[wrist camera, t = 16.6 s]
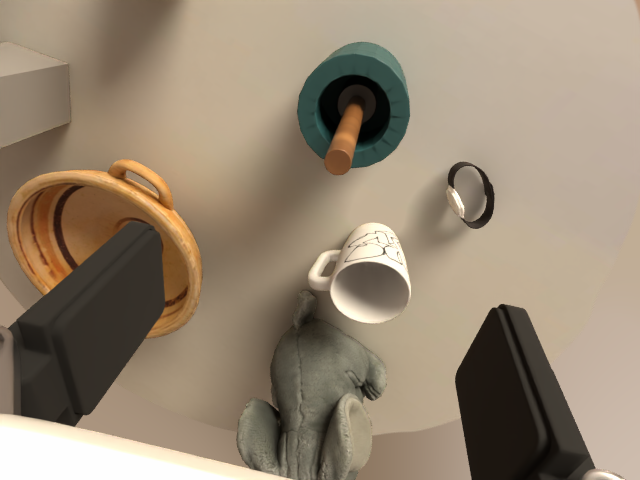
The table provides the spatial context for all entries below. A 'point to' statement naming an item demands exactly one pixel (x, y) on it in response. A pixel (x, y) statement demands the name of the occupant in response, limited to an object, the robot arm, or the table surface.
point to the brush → (351, 122)
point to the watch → (457, 203)
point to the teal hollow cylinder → (325, 88)
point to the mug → (366, 275)
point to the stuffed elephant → (313, 404)
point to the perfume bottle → (31, 93)
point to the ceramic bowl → (102, 231)
